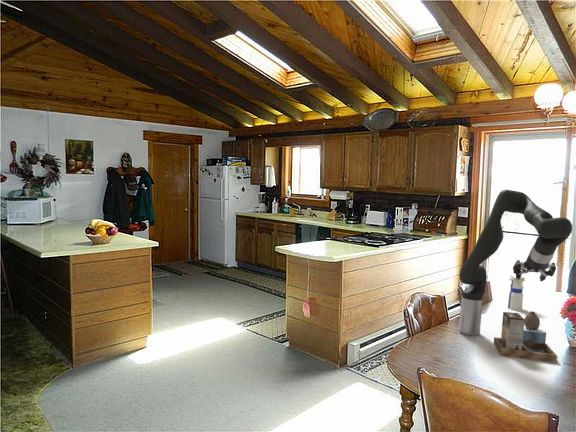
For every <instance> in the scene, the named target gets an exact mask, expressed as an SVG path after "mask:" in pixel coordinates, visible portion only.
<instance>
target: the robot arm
mask: <svg viewBox="0 0 576 432" xmlns="http://www.w3.org/2000/svg"><path fill="white" fill-rule="evenodd" d="M505 212H506V213H507V212H508V213H513V214H521V215H523V217H524V220H525V221H526V223H528V224H530V225H531V226H532V227H534V229H535V230H536V232H537V234H538V236H537V238H536V240H535V243H534V245H533V246H532V247H531V249H530V251H529V253H528V256H527V257H526V260H525V261H524V262H523V261H522V262H521V260H519V259H517V260H516V261H515V263H514V265H513V267H512V270H513V274H515V278H517V279H520V277H521V276H522V275H523V274H528V273H540V276H539V281H540V282H543V281H545V280H546V278H547V277H553V276H554V275H555V272H556V269H557V267H556V266H557V265H556V263H555V262H551V261H552V259H553V257H554V254H555V252H556V251H557V248H558V246H560V245H561V244H562V243H564V242H565V241H566V240H567V239H568V238H569V236H570V235H571V234H572V231H573V224H572V222H571V220H570V219H568V218H566V217H563V216H562V217H553V216H552V214H550V212H549V211H547V210H545V209H543V208H541V207H540V206H538V205H537V204H536V203H534V201H533V200H532V199H531V198H530V197H529V196H528V195H527V194H526V193H524V192H522V191H517V190H511V189H502V190H501V191H499V194H498V195H497V197H496V199H495V201H494V203H493V207H492V208H491V212H490V214H489V216H488V219H487V221H486V223H485V225H484V227H483V229H482V230H481V233H480V235H479V236H478V238H477V241H476V243H475V245H474V247H473V248H472V251H471V252H470V253H469V256H468V257H467V259H466V260H465V262H464V263H463V265H462V266H461V267H460V271H459V274H458V275H459V281H460V282H461V283H462V284H464V285H470V286H469V287H468V288H465V289H464V290H462V293H461V303H460V310H459V319H458V320H459V322H458V331H459V333H460V334H463V335H466V336H471V337H474V336H475V337H476V336H479V335H481V326H482V325H481V323H482V312H483V310H482V309H483V300H484V296H485V292H486V285H487V271H486V269H485V267H484V266H483V265H481V264H483V262H485V261H486V260H487V259H489V258H490V257H492V256H493V255H494V254H495V253H496V252H497V251H498V249H499V247H500V246H501V244H502V242H503V239H504V230H503V227H502V218H503V215H504V214H505ZM550 263H551V264H550ZM547 269H548V270H547Z"/></svg>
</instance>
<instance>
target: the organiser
mask: <svg viewBox="0 0 576 432" xmlns="http://www.w3.org/2000/svg"><path fill="white" fill-rule="evenodd" d="M546 341H547V332H546V331H545V332H544V331H540V330H539V331H538V330H530V329H524V332H523V343H522V350H515V349H507V348H503V347H502V345H501V337H497V336H494V337H493V346H494V347H495V348H496V350H497V352H498V353H499V355H500V356H501V357H502V356H503V357H508V358H509V357H510V358H518V359H526V360H532V361H541V362H547V363H555V364H557V362H558V361H557V360H558V354H557V353H556V352H554V350H553V349H552V348H551V347H550V346H549V345H548V344H547V343H546Z"/></svg>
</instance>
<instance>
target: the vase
mask: <svg viewBox="0 0 576 432" xmlns="http://www.w3.org/2000/svg"><path fill="white" fill-rule="evenodd" d="M524 319H525V322H524V327H525V328H526V330H530V331H537V330H539V327H540V325H541V320H540V318H539V316H538V315H537V312H536V311H531V310H530V311H529V312H528V314H527V315H525V316H524Z"/></svg>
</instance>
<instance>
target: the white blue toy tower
mask: <svg viewBox="0 0 576 432" xmlns="http://www.w3.org/2000/svg"><path fill="white" fill-rule="evenodd" d="M508 280H509V281H511V284H510V285H509V287H510V290H509V295H508V302H507V309H509V310H512V311H519V312H520V311H521V312H522V311H523V302H524V301H523V299H524V294H523V290H524V286H523V284H524V282H525V281H526V279H525V277H524V276H522V275H521V277H520V279H517V278H516V276H513V275H509V279H508Z"/></svg>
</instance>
